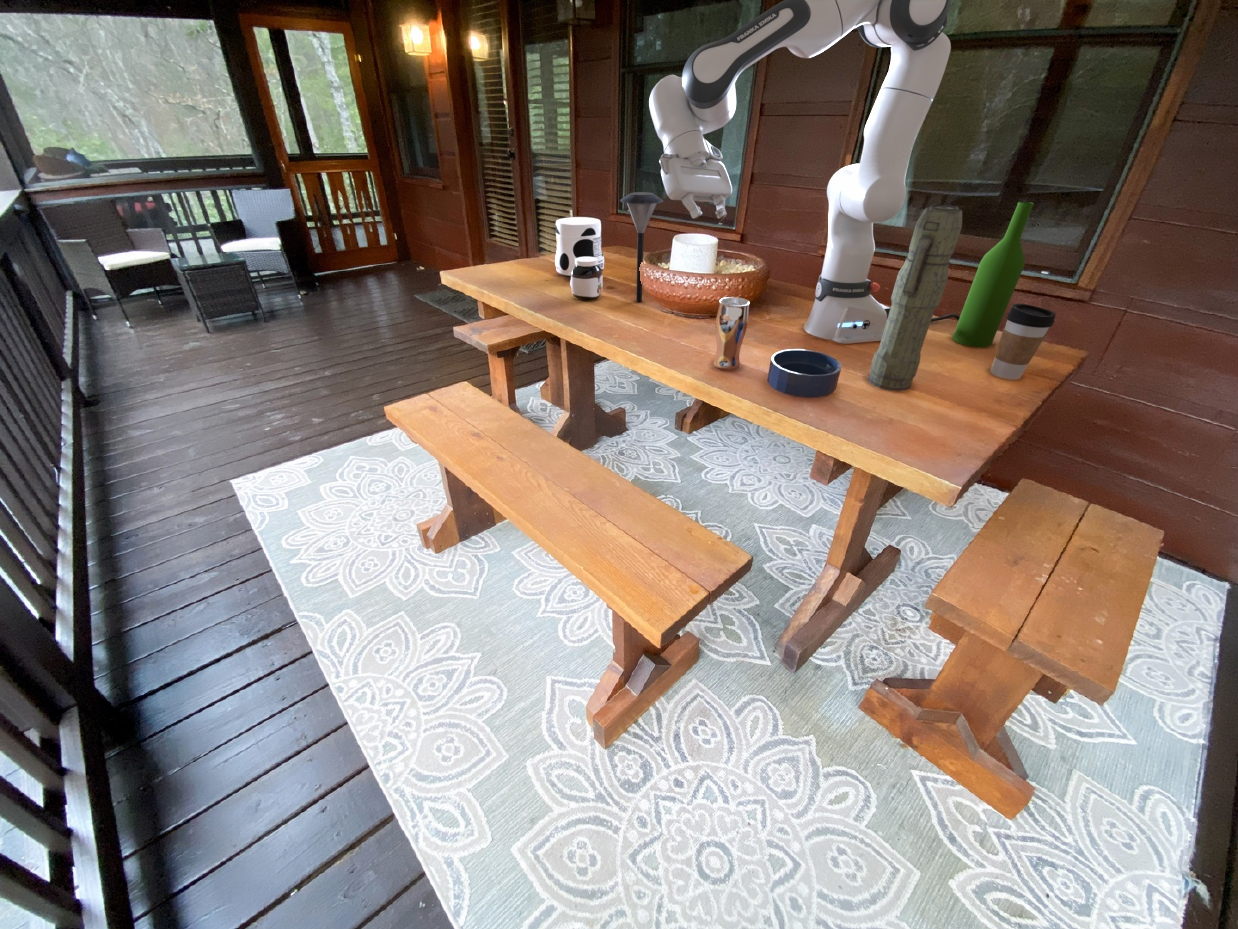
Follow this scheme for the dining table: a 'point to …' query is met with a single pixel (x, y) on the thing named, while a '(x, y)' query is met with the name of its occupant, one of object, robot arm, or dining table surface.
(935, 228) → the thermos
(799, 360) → the bowl
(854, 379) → the dining table surface
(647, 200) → the solar garden light
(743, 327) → the beer glass
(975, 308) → the wine bottle
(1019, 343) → the coffee cup
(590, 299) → the spread jar
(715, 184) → the robot arm
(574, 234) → the milk container
